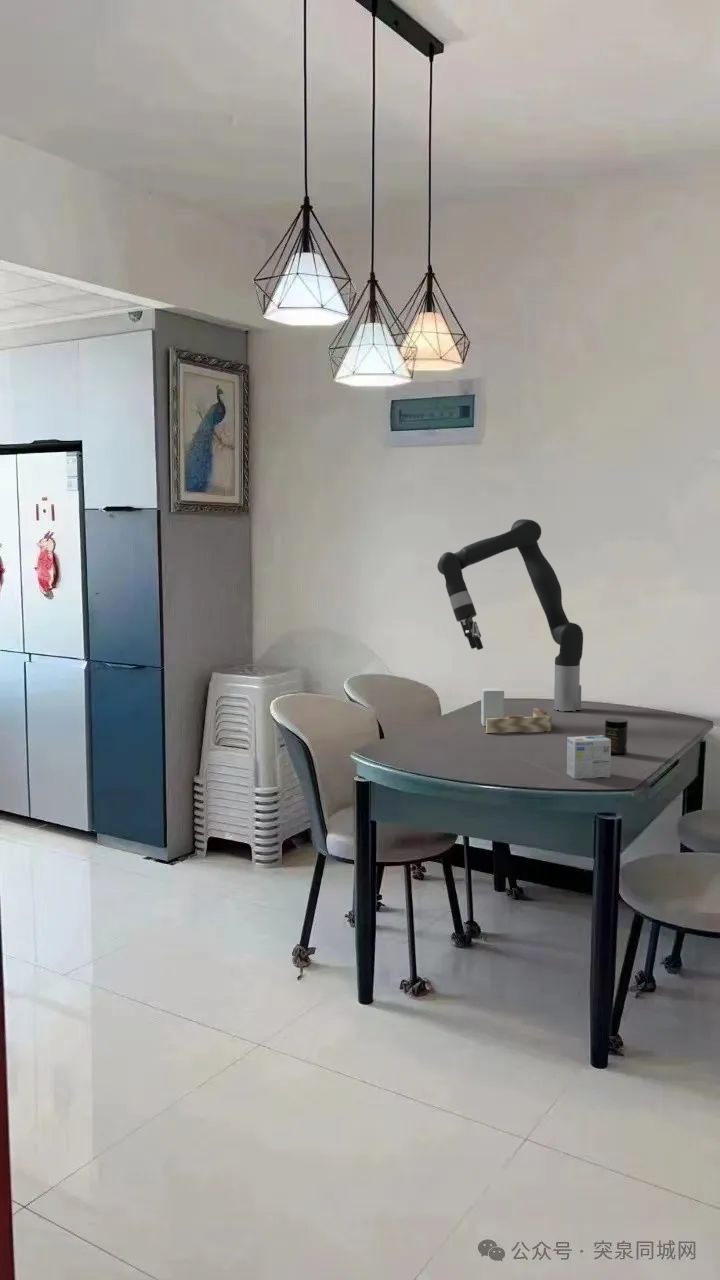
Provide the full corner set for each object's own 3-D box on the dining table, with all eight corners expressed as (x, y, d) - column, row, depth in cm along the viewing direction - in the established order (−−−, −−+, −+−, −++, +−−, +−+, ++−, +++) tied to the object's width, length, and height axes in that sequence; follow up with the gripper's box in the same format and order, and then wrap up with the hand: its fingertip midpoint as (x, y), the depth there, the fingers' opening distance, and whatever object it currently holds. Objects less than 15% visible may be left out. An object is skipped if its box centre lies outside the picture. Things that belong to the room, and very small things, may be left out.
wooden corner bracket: (536, 721, 347) (536, 706, 347) (551, 731, 331) (552, 715, 330) (474, 724, 344) (474, 708, 344) (486, 733, 328) (487, 717, 327)
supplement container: (627, 756, 294) (627, 722, 293) (603, 755, 296) (604, 721, 295) (627, 751, 301) (628, 718, 300) (604, 750, 303) (605, 717, 301)
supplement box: (504, 726, 339) (504, 690, 338) (482, 726, 340) (483, 690, 338) (501, 722, 347) (502, 687, 345) (480, 722, 347) (481, 687, 346)
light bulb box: (601, 772, 276) (602, 734, 275) (611, 777, 270) (612, 739, 269) (565, 773, 275) (566, 735, 274) (574, 779, 268) (575, 741, 267)
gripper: (467, 600, 343) (482, 644, 340) (477, 604, 356) (491, 645, 353) (447, 608, 345) (462, 651, 343) (458, 611, 359) (472, 653, 356)
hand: (477, 648), depth 348 cm, fingers open, 8 cm apart
